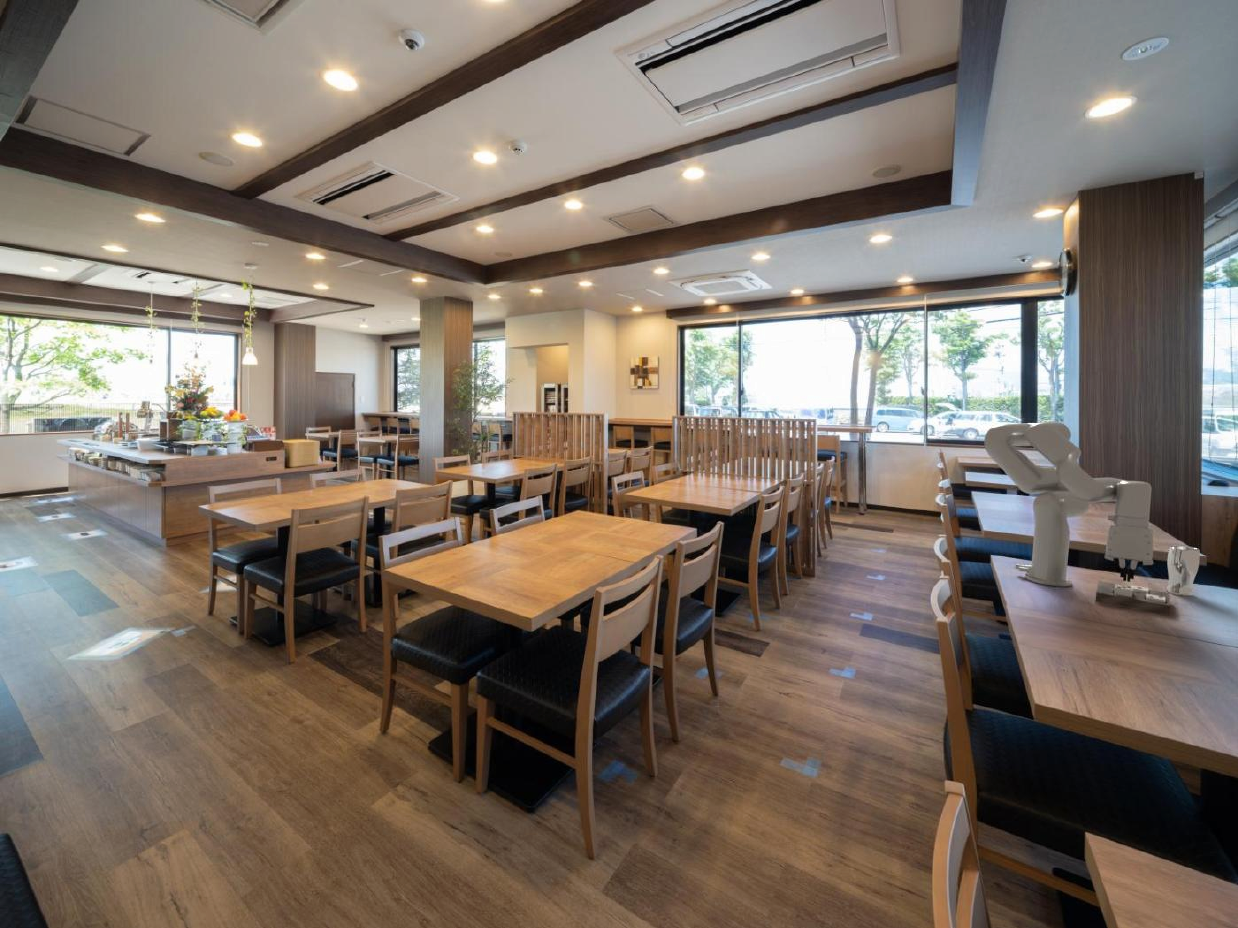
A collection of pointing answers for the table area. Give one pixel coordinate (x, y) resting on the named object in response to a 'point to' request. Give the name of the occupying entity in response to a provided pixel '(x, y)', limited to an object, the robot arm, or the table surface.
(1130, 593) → the tile three pips
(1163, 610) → the button board
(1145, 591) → the tile one pip
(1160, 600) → the tile two pips
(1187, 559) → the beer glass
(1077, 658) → the table surface
